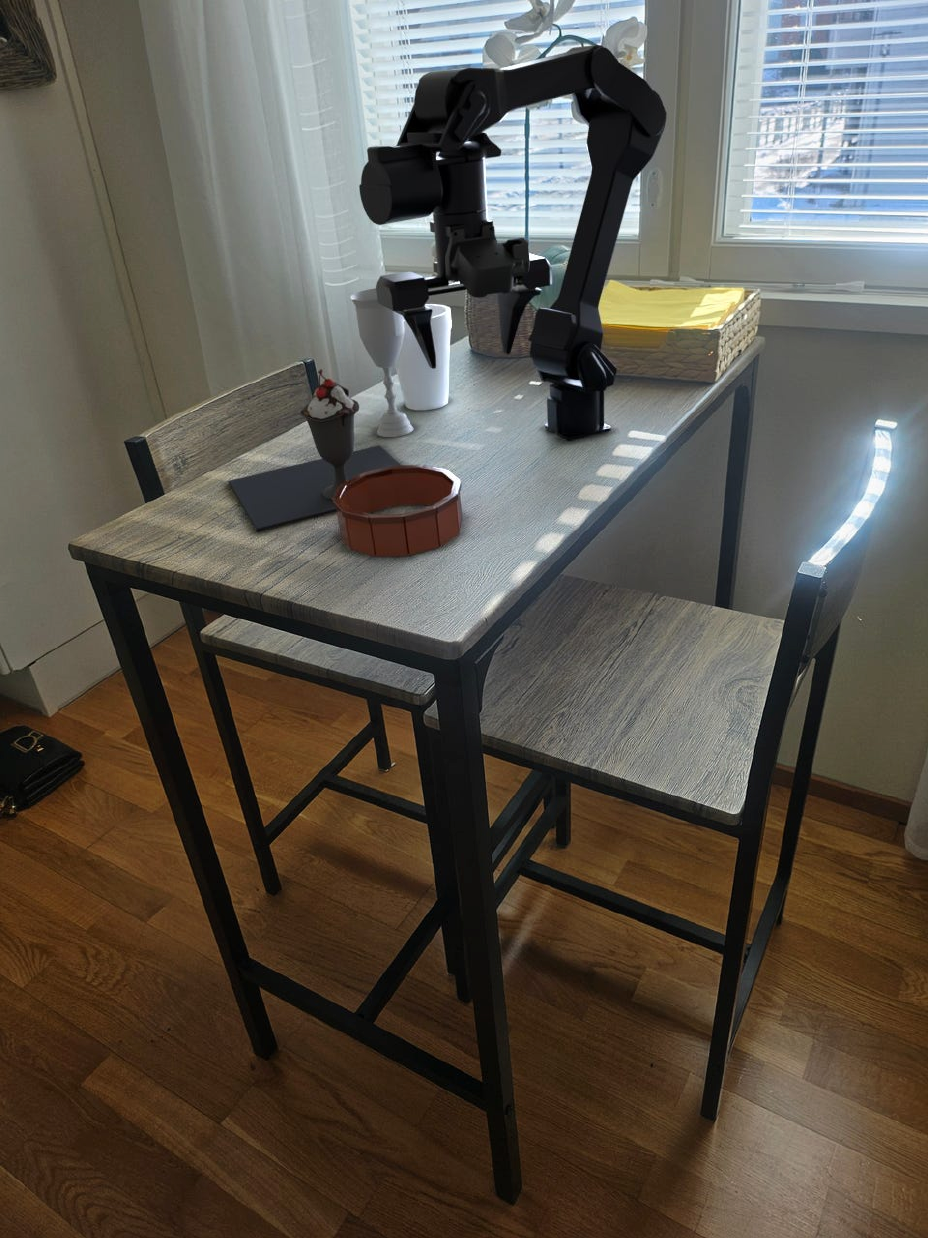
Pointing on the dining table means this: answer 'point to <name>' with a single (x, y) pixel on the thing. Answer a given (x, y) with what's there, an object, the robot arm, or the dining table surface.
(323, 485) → the placemat
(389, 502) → the serving tub
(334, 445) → the sundae
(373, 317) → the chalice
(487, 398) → the dining table surface
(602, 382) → the robot arm
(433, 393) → the foam cup
